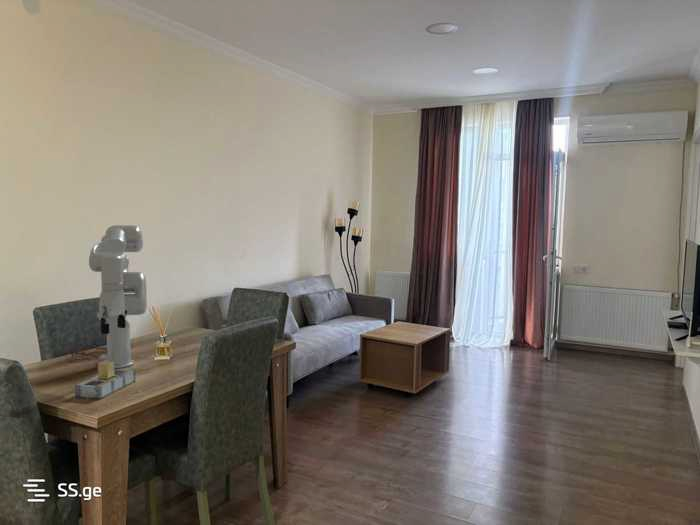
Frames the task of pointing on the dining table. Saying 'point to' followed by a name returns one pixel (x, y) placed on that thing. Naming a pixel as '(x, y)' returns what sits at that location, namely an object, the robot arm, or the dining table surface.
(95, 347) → the glasses
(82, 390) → the grey compartment tray
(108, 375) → the peg
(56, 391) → the dining table surface
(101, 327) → the robot arm
